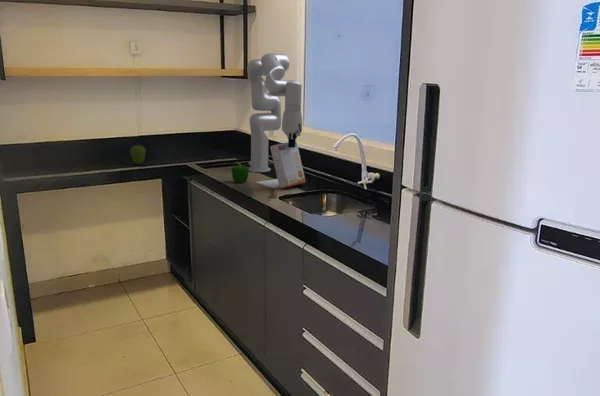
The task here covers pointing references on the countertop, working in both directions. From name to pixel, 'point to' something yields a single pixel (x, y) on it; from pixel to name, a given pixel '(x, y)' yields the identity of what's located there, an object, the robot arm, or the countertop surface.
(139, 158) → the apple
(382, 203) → the countertop surface
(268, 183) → the mat
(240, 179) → the bell pepper
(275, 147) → the cracker box
